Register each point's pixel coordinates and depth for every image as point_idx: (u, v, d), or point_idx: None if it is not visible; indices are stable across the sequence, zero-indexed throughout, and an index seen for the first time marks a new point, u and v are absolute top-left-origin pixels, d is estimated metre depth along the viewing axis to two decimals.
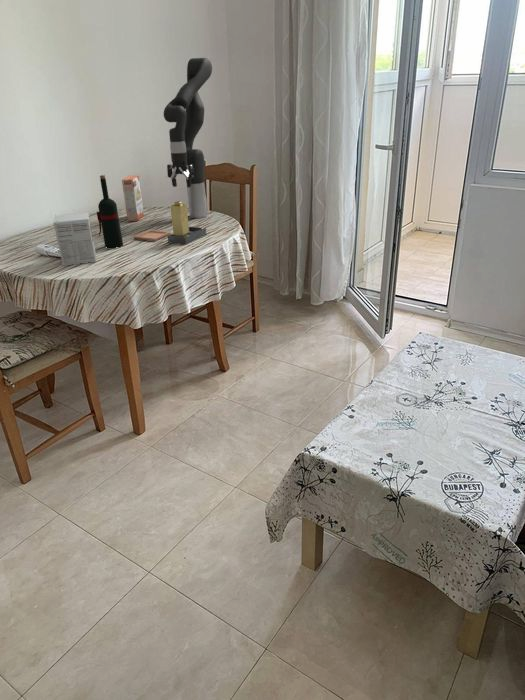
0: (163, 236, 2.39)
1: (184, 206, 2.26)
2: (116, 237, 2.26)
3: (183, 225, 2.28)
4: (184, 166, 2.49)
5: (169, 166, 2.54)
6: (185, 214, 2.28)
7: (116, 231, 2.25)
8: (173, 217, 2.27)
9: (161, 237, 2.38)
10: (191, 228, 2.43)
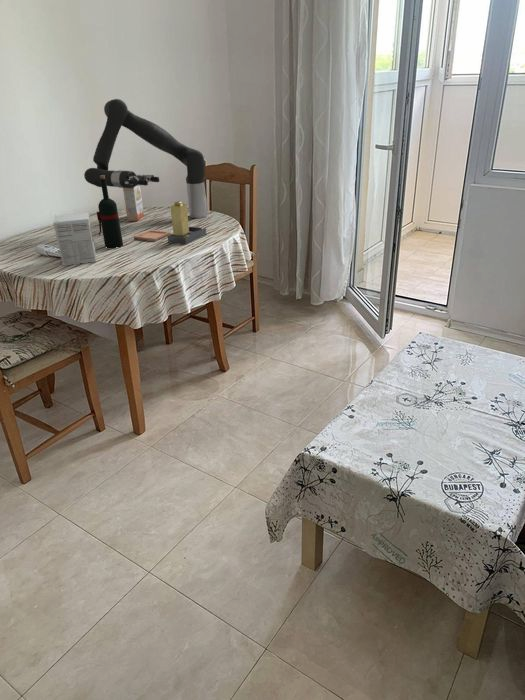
0: (163, 236, 2.39)
1: (184, 206, 2.26)
2: (116, 237, 2.26)
3: (183, 225, 2.28)
4: None
5: (143, 179, 2.38)
6: (185, 214, 2.28)
7: (116, 231, 2.25)
8: (173, 217, 2.27)
9: (161, 237, 2.38)
10: (191, 228, 2.43)
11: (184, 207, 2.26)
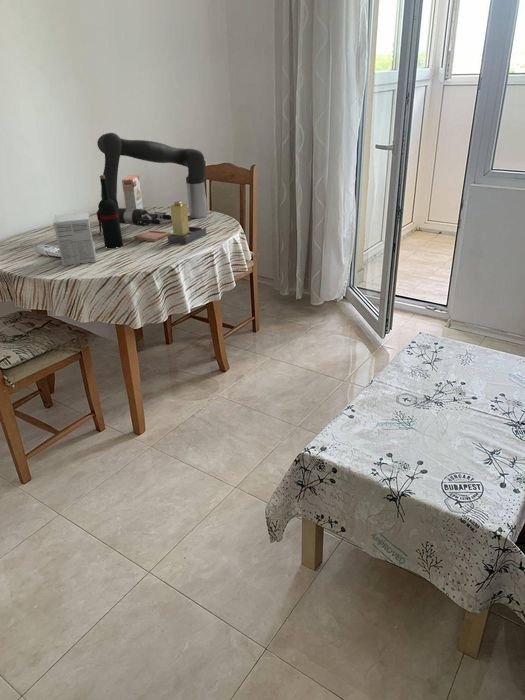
0: (163, 236, 2.39)
1: (184, 206, 2.26)
2: (116, 237, 2.26)
3: (183, 225, 2.28)
4: None
5: (155, 217, 2.41)
6: (185, 214, 2.28)
7: (116, 231, 2.25)
8: (173, 217, 2.27)
9: (161, 237, 2.38)
10: (191, 228, 2.43)
11: (184, 207, 2.26)
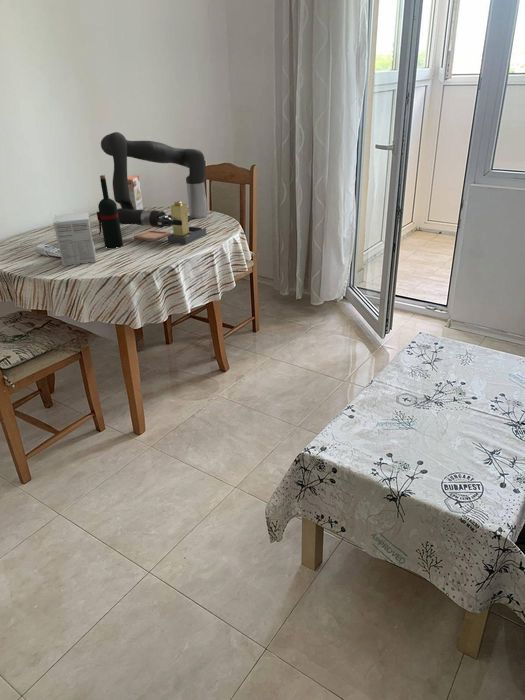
0: (163, 236, 2.39)
1: (184, 206, 2.26)
2: (116, 237, 2.26)
3: (183, 225, 2.28)
4: None
5: None
6: (185, 214, 2.28)
7: (116, 231, 2.25)
8: (173, 217, 2.27)
9: (161, 237, 2.38)
10: (191, 228, 2.43)
11: (184, 207, 2.26)
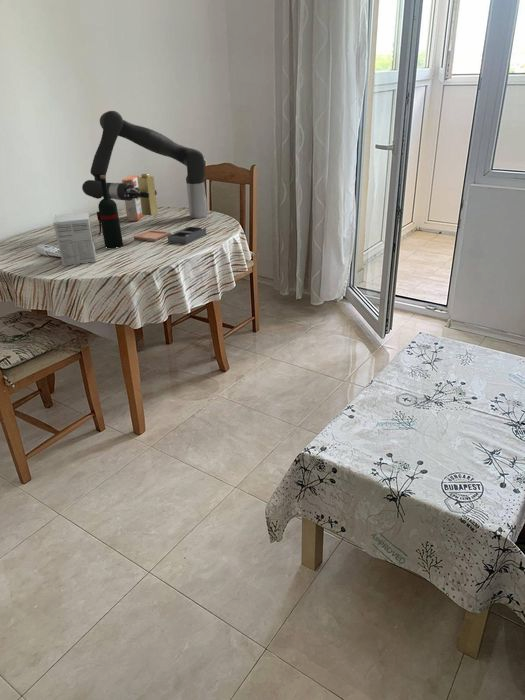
0: (163, 236, 2.39)
1: (151, 178, 2.29)
2: (116, 237, 2.26)
3: (150, 197, 2.30)
4: None
5: None
6: (152, 186, 2.30)
7: (116, 231, 2.25)
8: (140, 189, 2.29)
9: (161, 237, 2.38)
10: (191, 228, 2.43)
11: (151, 179, 2.29)
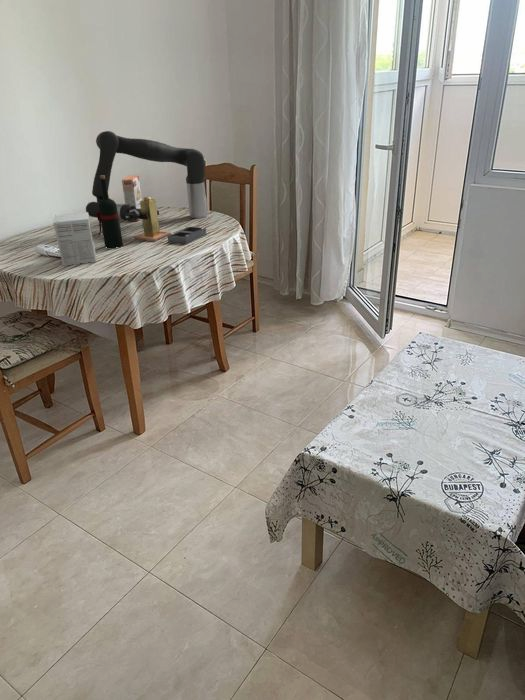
0: (163, 236, 2.39)
1: (153, 201, 2.33)
2: (116, 237, 2.26)
3: (152, 220, 2.35)
4: None
5: None
6: (154, 209, 2.35)
7: (116, 231, 2.25)
8: (142, 212, 2.34)
9: (161, 237, 2.38)
10: (191, 228, 2.43)
11: (153, 202, 2.34)
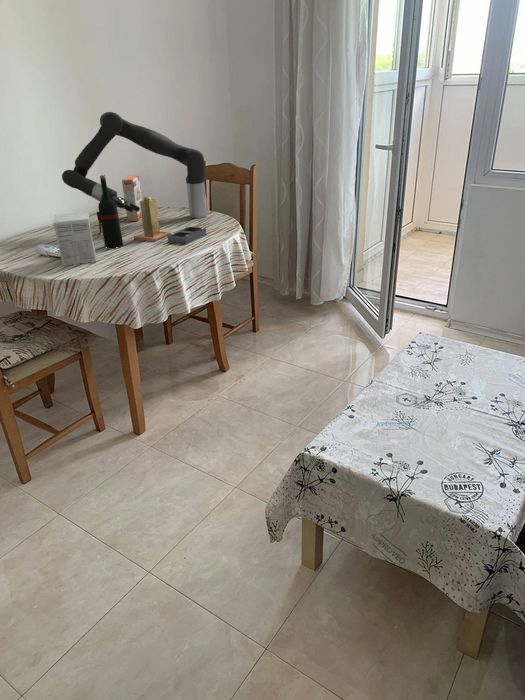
0: (163, 236, 2.39)
1: (153, 201, 2.33)
2: (116, 237, 2.26)
3: (152, 220, 2.35)
4: None
5: None
6: (154, 209, 2.35)
7: (116, 231, 2.25)
8: (142, 212, 2.34)
9: (161, 237, 2.38)
10: (191, 228, 2.43)
11: (153, 202, 2.34)
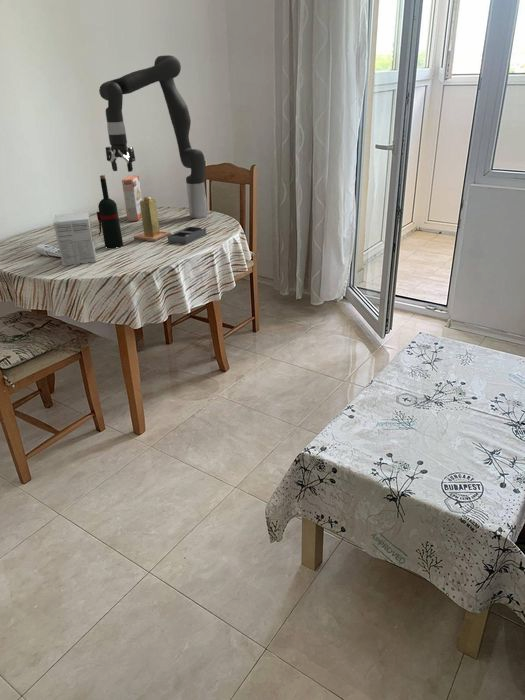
0: (163, 236, 2.39)
1: (153, 201, 2.33)
2: (116, 237, 2.26)
3: (152, 220, 2.35)
4: (123, 149, 2.31)
5: (108, 149, 2.34)
6: (154, 209, 2.35)
7: (116, 231, 2.25)
8: (142, 212, 2.34)
9: (161, 237, 2.38)
10: (191, 228, 2.43)
11: (153, 202, 2.34)
